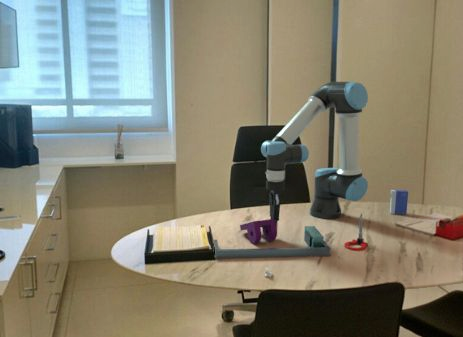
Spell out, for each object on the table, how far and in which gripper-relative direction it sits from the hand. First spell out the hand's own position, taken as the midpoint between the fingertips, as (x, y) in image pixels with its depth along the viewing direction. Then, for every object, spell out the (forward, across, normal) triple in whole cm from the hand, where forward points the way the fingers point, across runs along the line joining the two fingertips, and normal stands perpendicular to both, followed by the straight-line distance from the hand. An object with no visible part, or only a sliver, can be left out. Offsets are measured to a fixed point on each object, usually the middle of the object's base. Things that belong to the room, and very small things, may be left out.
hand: (273, 235), depth 201 cm
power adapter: (+2, +38, -7) cm, 39 cm away
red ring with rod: (+2, +11, +31) cm, 33 cm away
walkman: (+2, -35, +69) cm, 77 cm away
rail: (+2, +8, -4) cm, 9 cm away
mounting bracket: (+1, -2, -7) cm, 8 cm away
